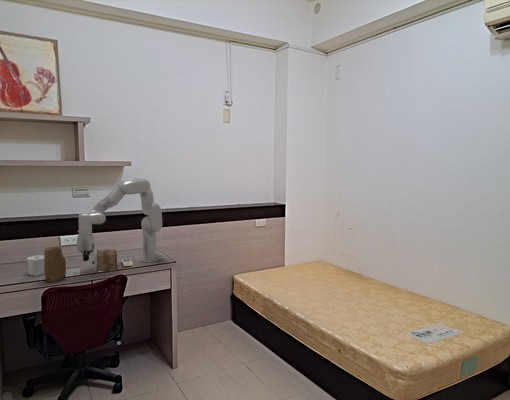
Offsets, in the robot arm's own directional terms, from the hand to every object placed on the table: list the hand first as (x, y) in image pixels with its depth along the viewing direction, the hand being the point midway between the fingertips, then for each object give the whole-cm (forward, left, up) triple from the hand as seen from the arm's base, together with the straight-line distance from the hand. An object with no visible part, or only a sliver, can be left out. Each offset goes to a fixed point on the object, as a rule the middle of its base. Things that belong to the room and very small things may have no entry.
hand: (86, 260), depth 240 cm
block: (+17, +11, -8) cm, 21 cm away
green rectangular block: (-5, -4, -6) cm, 9 cm away
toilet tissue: (+28, -5, -8) cm, 29 cm away
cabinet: (-12, -3, -7) cm, 15 cm away
